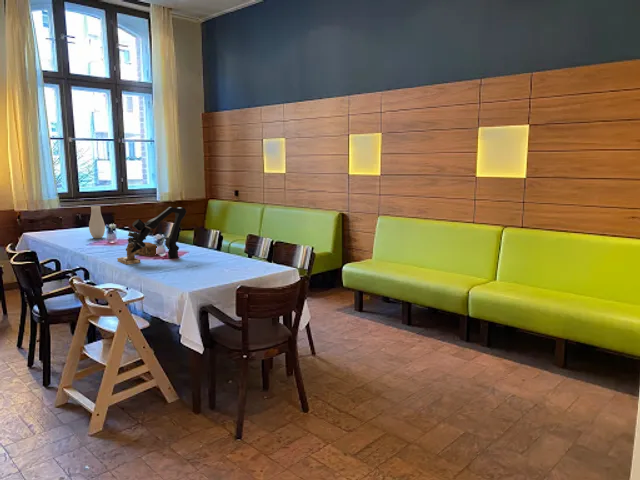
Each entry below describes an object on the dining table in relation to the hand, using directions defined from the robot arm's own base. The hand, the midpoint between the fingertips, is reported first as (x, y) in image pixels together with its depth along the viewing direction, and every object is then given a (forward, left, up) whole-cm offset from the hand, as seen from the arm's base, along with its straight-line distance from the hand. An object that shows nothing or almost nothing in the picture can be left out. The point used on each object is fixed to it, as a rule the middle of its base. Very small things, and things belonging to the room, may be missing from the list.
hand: (128, 251), depth 346 cm
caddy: (-1, -4, -9) cm, 10 cm away
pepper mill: (-1, 0, -8) cm, 8 cm away
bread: (-20, -27, -9) cm, 35 cm away
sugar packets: (0, -8, -8) cm, 12 cm away
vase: (-8, -135, -9) cm, 136 cm away
